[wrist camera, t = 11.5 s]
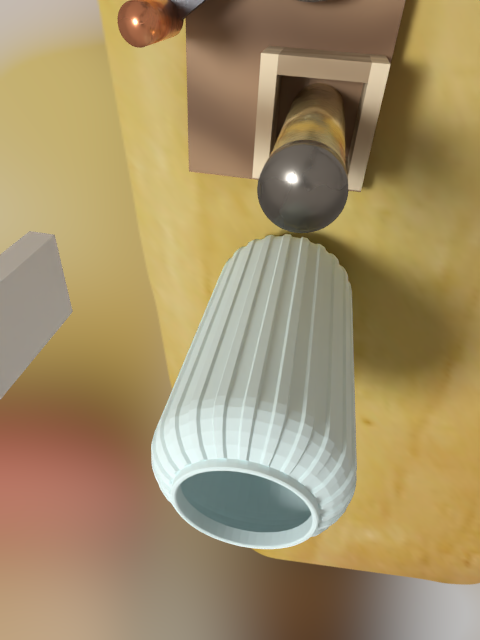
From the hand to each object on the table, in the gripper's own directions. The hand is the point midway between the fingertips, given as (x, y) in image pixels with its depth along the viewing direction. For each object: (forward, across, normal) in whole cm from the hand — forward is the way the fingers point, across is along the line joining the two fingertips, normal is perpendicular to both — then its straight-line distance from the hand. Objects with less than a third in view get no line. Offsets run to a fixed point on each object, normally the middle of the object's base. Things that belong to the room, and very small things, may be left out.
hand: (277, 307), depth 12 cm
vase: (+24, 0, -14) cm, 28 cm away
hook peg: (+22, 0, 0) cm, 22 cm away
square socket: (+22, 0, 0) cm, 22 cm away
